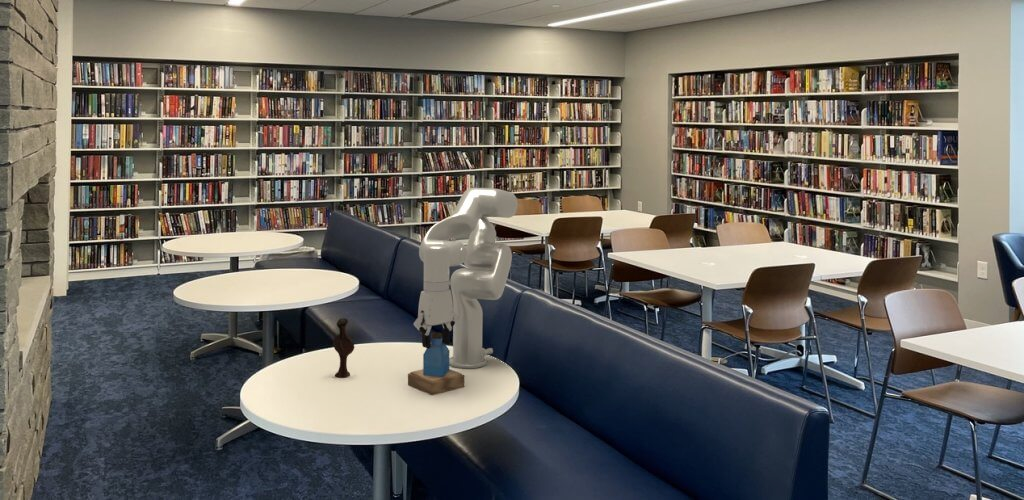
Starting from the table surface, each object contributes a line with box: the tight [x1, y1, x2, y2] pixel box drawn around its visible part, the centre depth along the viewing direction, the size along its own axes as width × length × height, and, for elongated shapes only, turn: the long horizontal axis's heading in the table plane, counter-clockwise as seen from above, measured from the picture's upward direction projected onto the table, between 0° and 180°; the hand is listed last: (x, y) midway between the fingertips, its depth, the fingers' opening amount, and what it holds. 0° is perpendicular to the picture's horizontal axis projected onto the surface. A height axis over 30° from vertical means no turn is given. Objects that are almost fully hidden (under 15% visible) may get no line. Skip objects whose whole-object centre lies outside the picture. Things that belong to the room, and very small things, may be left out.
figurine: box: [332, 317, 355, 379], centre depth 243 cm, size 7×5×18 cm
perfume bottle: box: [422, 331, 450, 377], centre depth 235 cm, size 6×6×12 cm
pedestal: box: [407, 368, 465, 396], centre depth 236 cm, size 12×12×4 cm
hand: (436, 344), depth 234 cm, fingers open, 6 cm apart
